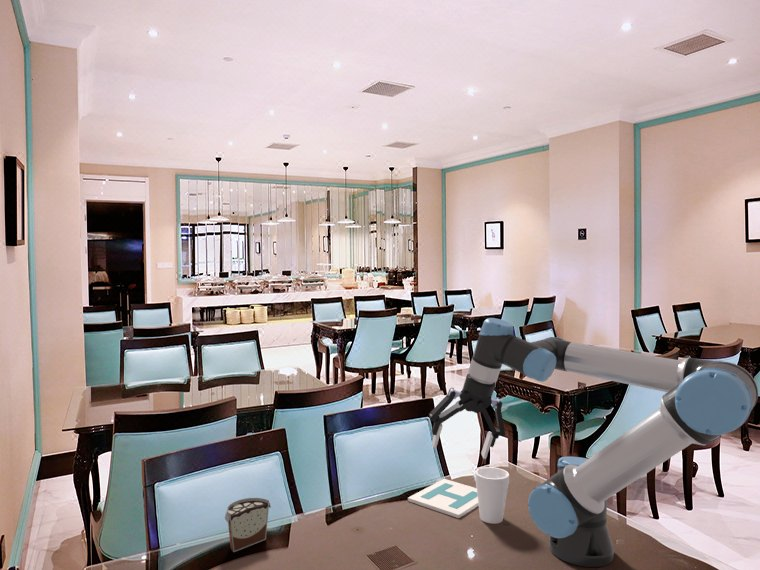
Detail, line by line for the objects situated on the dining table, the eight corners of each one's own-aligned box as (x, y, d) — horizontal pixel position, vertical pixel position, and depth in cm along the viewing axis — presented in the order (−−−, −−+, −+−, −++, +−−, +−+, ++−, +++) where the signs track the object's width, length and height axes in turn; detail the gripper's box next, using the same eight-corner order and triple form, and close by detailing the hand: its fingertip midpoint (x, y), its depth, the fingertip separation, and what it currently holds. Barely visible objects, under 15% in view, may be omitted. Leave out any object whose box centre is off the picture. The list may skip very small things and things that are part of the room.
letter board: (492, 496, 173) (493, 492, 173) (458, 518, 157) (458, 514, 157) (444, 481, 184) (444, 478, 184) (407, 500, 169) (407, 497, 169)
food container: (258, 529, 150) (258, 492, 149) (270, 537, 145) (270, 499, 145) (215, 545, 141) (215, 506, 141) (228, 554, 137) (228, 514, 136)
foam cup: (511, 526, 153) (512, 479, 152) (477, 526, 153) (478, 479, 152) (504, 511, 162) (504, 467, 162) (472, 510, 162) (472, 466, 162)
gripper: (524, 382, 146) (500, 452, 151) (432, 361, 144) (411, 433, 149) (532, 394, 139) (507, 468, 144) (436, 373, 136) (414, 448, 141)
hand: (458, 451), depth 146 cm, fingers open, 13 cm apart
